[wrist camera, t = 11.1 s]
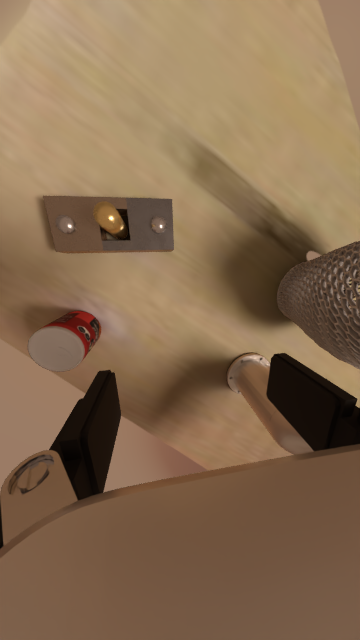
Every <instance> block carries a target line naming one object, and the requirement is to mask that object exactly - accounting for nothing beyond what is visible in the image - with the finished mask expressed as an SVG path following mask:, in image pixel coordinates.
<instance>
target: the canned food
mask: <svg viewBox="0 0 360 640" xmlns="http://www.w3.org/2000/svg"><path fill="white" fill-rule="evenodd" d="M100 334H101V326H100V323H99V321H98V320H97V319H96V318H95V317H94V316H93V315H91V314H89V313H87V312H83V311H74V312H71V313H68V314H66V315H64V316H63V317H61V318H59V319H57V320H55V321H53V322H51V323H50V324H48V325H46V326H44V327H43V328H41V329H39V330H38V331H36V332H35V333H34V334H33V335H32V336H31V337H30V339H29V341H28V351H29V354H30V356H31V358H32V359H33V360H34V361H35V362H36V363H37V364H38V365H39V366H41V367H43V368H45V369H47V370H51V371H57V372H63V371H68V370H71V369H73V368H75V367H76V366H78V365H79V364H80V363H81V362H82V360H83V359H84V358H85V356H86V355H87V354H88V352H89V351H90V350H91V348H92V347H93V346H94V344H95V343H96V341H97V340H98V339H99V337H100Z"/></svg>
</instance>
